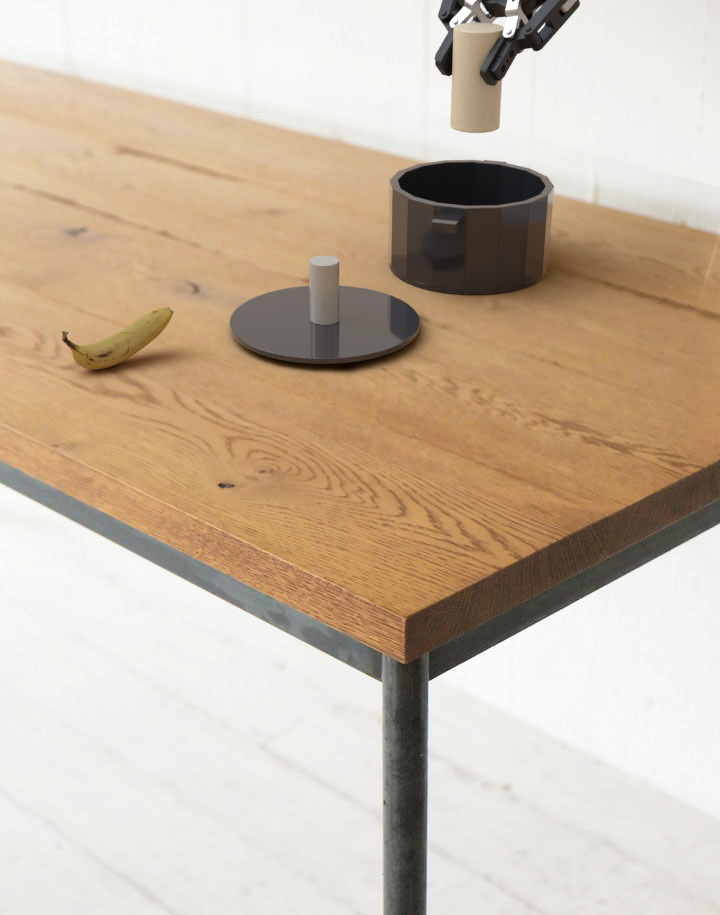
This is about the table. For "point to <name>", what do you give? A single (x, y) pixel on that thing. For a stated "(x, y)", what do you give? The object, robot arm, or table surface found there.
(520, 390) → the table surface
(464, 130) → the beige wooden cylinder
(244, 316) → the lid
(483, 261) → the pot
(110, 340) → the banana
